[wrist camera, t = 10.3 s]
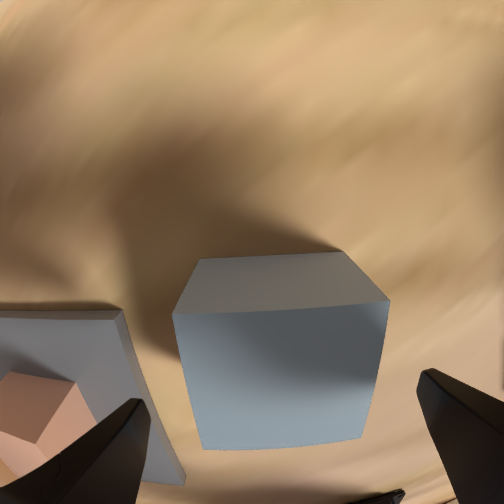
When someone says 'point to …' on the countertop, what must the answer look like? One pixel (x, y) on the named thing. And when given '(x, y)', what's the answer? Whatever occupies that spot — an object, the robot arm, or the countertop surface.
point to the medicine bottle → (453, 502)
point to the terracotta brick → (39, 419)
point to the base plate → (88, 369)
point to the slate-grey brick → (280, 349)
